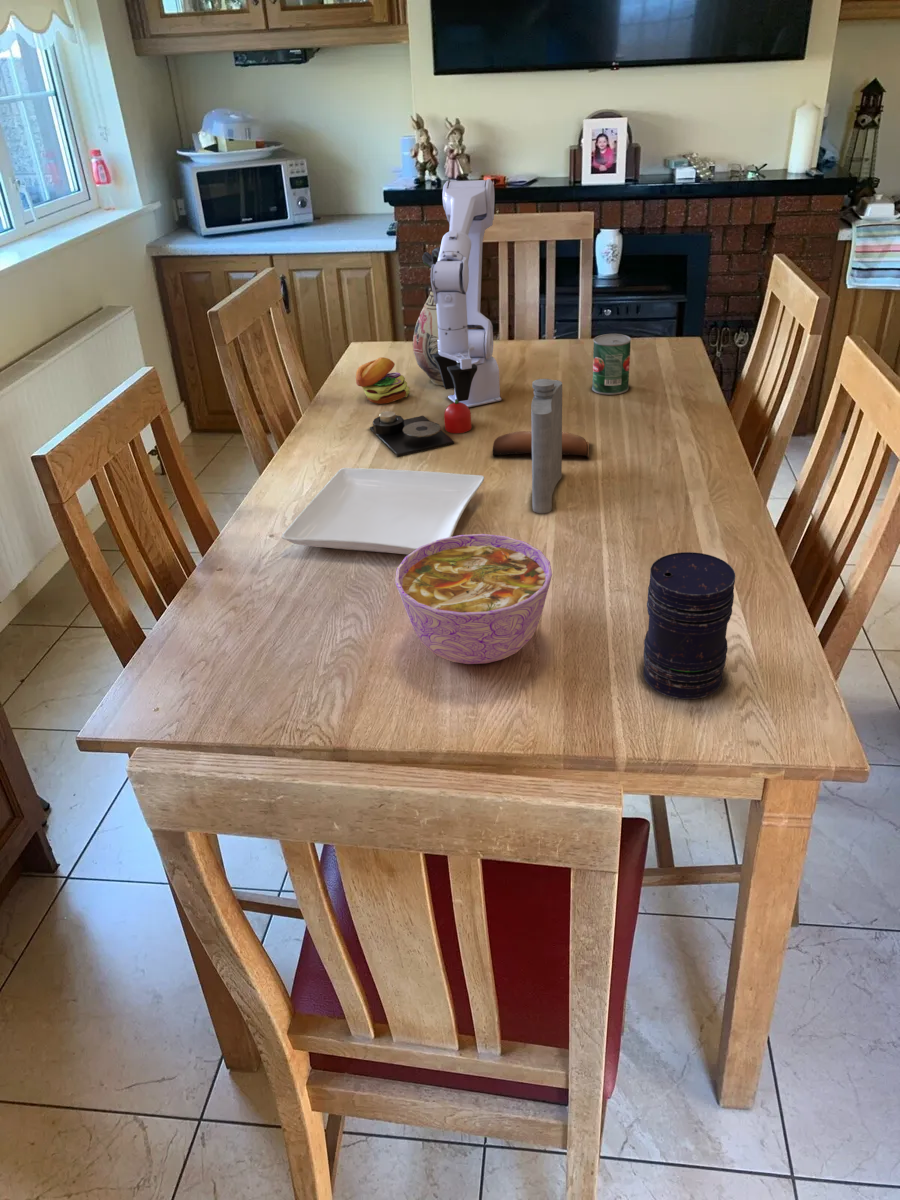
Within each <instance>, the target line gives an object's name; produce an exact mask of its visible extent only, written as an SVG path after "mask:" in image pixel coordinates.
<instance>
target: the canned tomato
mask: <svg viewBox="0 0 900 1200" xmlns="http://www.w3.org/2000/svg"><path fill="white" fill-rule="evenodd" d="M631 342H632V338H631V337H630V336H629V335H626V334H622V333H606V334H599V335H597V336H595V337H593V354H592V386H591V390H592V391H593V392H594V393H596V394H599V395H605V396H606V395H607V396H614V395H620V394H624V393H626V392H627V391H629V388H630V387H629V383H630V366H631V365H630V363H631V361H630V360H631Z"/></svg>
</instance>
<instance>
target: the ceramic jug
mask: <svg viewBox="0 0 900 1200" xmlns="http://www.w3.org/2000/svg"><path fill="white" fill-rule="evenodd" d="M440 247H441V246H438V247H435V248H434V249H432V250H431V253H430V252H428V251H425V252H424V253H423V254H422V257H421V260H422V262H423V264H424V265H426V266H427V267H428V268H429V269H431V268H432V265H433V264H436V262H437V261H438V257H439V252H440ZM415 323H416V324H415V327H414V332H413V336H412V337H413V338H412V348H413V349H412V351H413V355H414V358H415V361H416V364H417V365H418V367H419V368H420V369H421V370H422V371H423V372H424V373H425V374H426V376H427V377H428V378H429V379H430V381H431V383H432V384H434V385H437V386H442V387H444V384H443V381H442V377H441V373H440V370H439V368H438V365H437V363H436V361H435V359H434V358H433V354H435V353H438V341H437V340H439V338H438V323H437V307H436V303H434V295H433V290H432V289H431V290H430V293H429V295H428V297H427V299H426V300H425V303H424V305H423V307H422V309H421V310H420V313H419V316H418V318H417V321H416V322H415ZM468 329H478V328H468Z"/></svg>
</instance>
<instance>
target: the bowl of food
mask: <svg viewBox="0 0 900 1200" xmlns="http://www.w3.org/2000/svg"><path fill="white" fill-rule="evenodd" d="M395 570H396V571H395V572H396V573H395V580H394V583H395V585H396V588H397V592H398V593H399V596H400V599H401V601H402V605H403V606H404V609H405V613H406V614H407V617H408V619H409V622H410V624H411V626H412V628H413V630H414V633H415V634H416V636H417V638H418V640H419V642H420V643H421V644H422V645H423V646H424V647H426V649H428V650H429V651H430V652H432V653H433V654H434V655H435V656H436V657H438V658H441V659H443V660H447V661H449V662H450V663H451V662H453V663H460V664H466V665H479V664H481V665H482V664H489V663H493V662H497V661H501V660H502V661H503V660H504V659H507V658H509V657H511V656H512V655H515V654H517V653H518V652H519V651H520V650H521V649H523V648H524V647H525V645H527V644H528V642H529V641H530V640H531V639H532V638H533V637H534V635H535V632H536V630H537V628H538V626H539V622H540V619H541V617H542V614H543V610H544V607H545V603H546V599H547V595H548V592H549V589H550V585H551V581H552V578H553V573H552V566H551V561H550V560H549V559H548V558H547V557H546V555H545V554H544V552H542V551H541V550H540V549H538V548H536V547H535V546H533V545H531V544H529V543H528V542H526V541H523V540H519V539H516V538H513V537H510V536H506V535H496V534H487V533H476V534H475V533H474V534H459V535H454V536H453V535H452V537H449V538H444V539H439V540H436V541H434V542H431V543H429V544H426V545H424V546H421V547H419V548H418V549H416V550H415V551H413V552H412V553H410V554H409V555H408V554H406V556H404V558H403V560H401V562H400V564H399V565H398V566H397V568H396V569H395Z"/></svg>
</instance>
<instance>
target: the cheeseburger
mask: <svg viewBox="0 0 900 1200" xmlns="http://www.w3.org/2000/svg"><path fill="white" fill-rule="evenodd" d="M395 365H396V364H395V362H394V361H393V360H391V359H390V358H388V357H385V356H380V357H378V358H377V359H374V360H370V361H368V362H366V363H364V364H361V365H360V366H358V368H357V369H356V371H355V383H356V385H357V386H358V387H361V388H362V390H363V392H364V395H366V398H367V400H368V401H369V402H371V403H374V404H378V405H382V404H389V403H392V402H395V401H398V400H401V399H403V398H407V397H408V396H409V394H410V392H411V391H410V386H408V382H407V381H406V377H405V376H404V375H402V374H401V373H400V372H391V371H392V370H393V369H394V367H395Z"/></svg>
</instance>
